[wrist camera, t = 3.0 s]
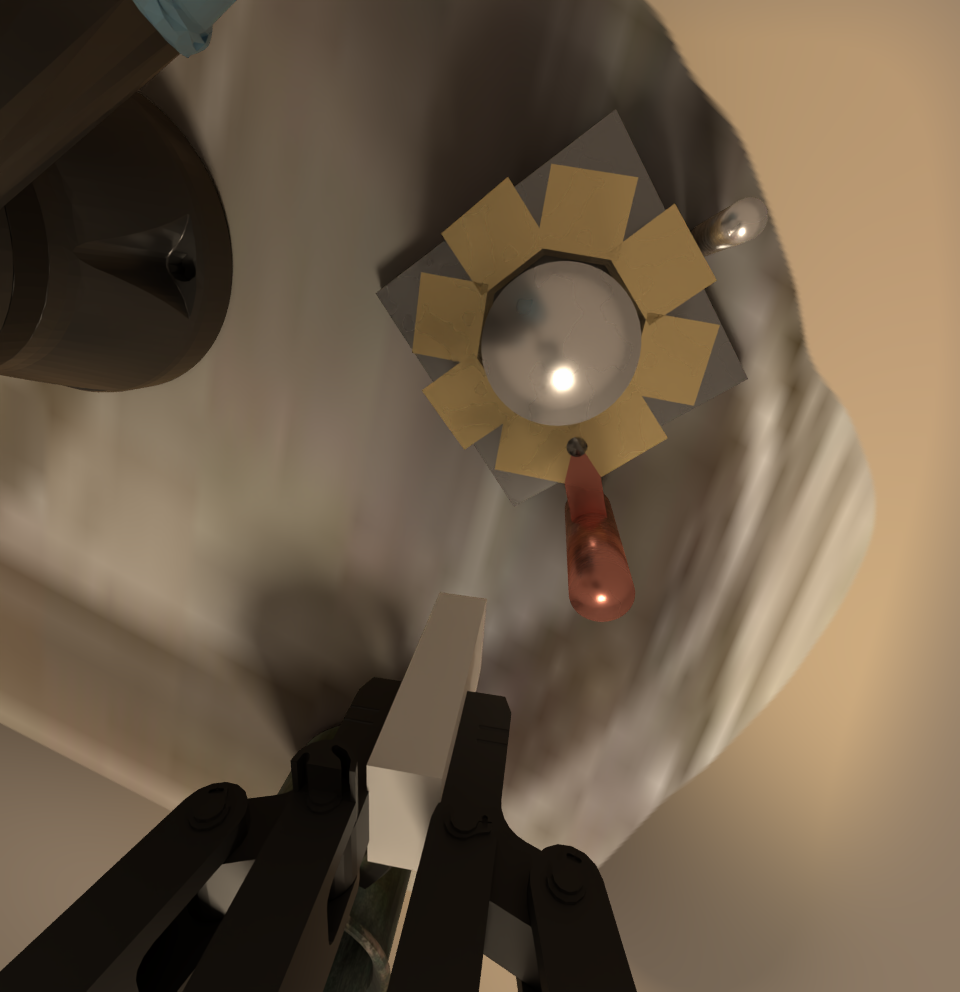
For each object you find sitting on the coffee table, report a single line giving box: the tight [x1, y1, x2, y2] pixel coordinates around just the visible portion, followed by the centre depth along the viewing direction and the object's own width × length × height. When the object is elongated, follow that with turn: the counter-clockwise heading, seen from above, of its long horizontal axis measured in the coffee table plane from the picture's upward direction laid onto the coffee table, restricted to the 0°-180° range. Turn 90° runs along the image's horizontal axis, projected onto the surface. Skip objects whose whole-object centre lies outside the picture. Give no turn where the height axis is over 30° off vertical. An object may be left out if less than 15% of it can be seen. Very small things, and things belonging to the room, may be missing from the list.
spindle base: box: [376, 109, 768, 506], centre depth 20 cm, size 13×15×10 cm
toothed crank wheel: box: [412, 164, 720, 622], centre depth 20 cm, size 16×12×8 cm
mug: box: [277, 726, 411, 992], centre depth 32 cm, size 11×15×12 cm
